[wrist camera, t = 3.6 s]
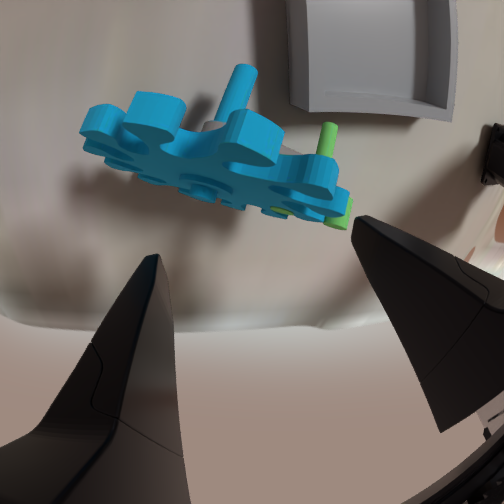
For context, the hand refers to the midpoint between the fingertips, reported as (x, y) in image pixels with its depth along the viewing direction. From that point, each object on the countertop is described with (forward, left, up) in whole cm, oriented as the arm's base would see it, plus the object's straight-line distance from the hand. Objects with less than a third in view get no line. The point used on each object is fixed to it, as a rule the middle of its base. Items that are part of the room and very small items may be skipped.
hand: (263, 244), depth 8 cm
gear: (+1, 0, -9) cm, 9 cm away
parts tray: (-9, -10, -8) cm, 16 cm away
